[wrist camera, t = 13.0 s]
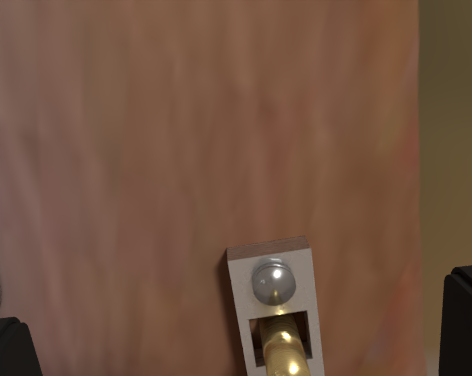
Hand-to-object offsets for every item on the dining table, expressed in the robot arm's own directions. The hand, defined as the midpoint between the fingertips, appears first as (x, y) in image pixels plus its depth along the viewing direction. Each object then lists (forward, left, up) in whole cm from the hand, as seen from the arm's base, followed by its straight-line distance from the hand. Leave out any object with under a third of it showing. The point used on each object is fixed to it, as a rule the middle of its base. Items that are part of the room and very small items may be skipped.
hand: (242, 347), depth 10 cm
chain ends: (-13, -14, -26) cm, 32 cm away
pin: (-13, -14, -26) cm, 32 cm away
